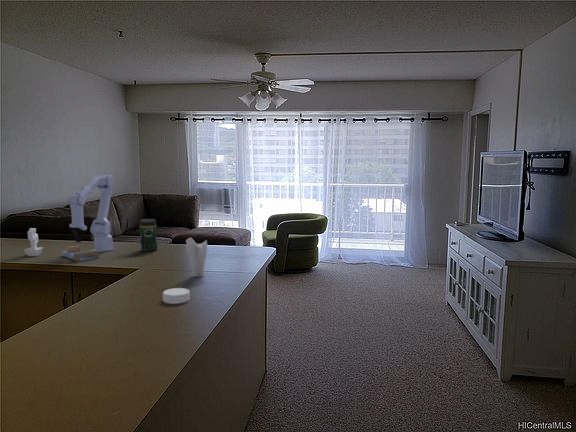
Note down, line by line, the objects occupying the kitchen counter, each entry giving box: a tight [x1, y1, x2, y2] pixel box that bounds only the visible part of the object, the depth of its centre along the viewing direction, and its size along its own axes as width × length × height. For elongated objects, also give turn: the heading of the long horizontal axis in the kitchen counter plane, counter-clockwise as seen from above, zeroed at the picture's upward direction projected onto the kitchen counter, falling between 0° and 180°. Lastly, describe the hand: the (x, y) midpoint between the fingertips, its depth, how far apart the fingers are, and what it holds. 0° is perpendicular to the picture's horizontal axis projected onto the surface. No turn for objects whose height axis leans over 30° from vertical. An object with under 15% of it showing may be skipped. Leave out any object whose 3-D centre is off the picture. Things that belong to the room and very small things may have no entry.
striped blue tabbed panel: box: [66, 249, 100, 263], centre depth 234 cm, size 12×14×4 cm
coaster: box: [162, 287, 191, 305], centre depth 166 cm, size 10×10×4 cm
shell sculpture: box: [185, 237, 208, 278], centre depth 200 cm, size 8×8×18 cm
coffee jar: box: [138, 218, 158, 252], centre depth 255 cm, size 10×8×19 cm
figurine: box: [23, 227, 44, 257], centre depth 239 cm, size 7×9×15 cm
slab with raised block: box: [61, 244, 84, 258], centre depth 240 cm, size 9×5×5 cm, turn 143°
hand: (78, 241), depth 235 cm, fingers closed
